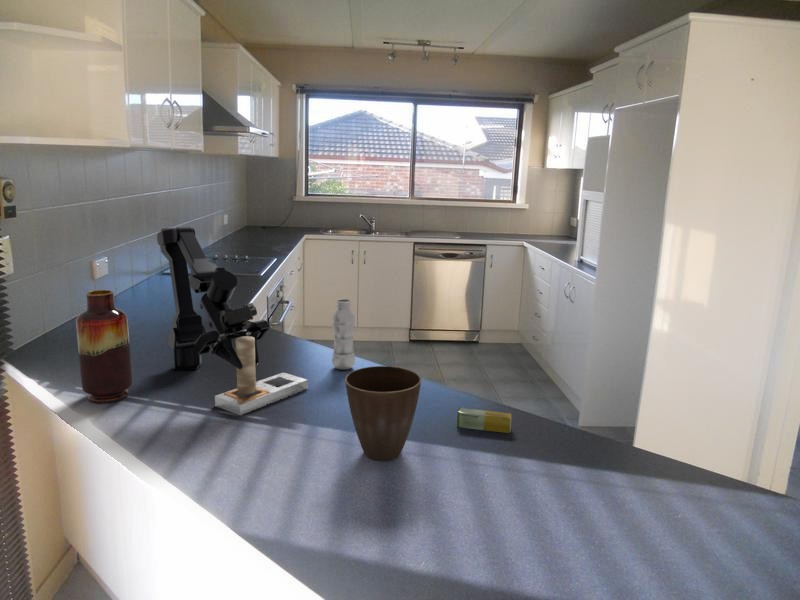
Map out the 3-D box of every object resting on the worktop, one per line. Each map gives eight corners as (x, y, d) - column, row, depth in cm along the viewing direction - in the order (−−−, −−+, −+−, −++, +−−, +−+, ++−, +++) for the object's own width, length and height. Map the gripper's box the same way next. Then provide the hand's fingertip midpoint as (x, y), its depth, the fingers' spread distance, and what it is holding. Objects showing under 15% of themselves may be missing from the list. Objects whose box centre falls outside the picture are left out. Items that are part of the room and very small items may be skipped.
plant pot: (392, 479, 111) (394, 397, 108) (329, 457, 119) (329, 381, 115) (432, 448, 123) (434, 375, 120) (372, 431, 131) (373, 361, 128)
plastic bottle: (359, 366, 173) (359, 299, 169) (347, 373, 167) (347, 303, 163) (339, 363, 176) (339, 297, 172) (327, 370, 170) (327, 301, 166)
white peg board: (240, 415, 138) (239, 404, 137) (215, 405, 143) (214, 395, 142) (307, 388, 155) (307, 379, 155) (283, 381, 160) (283, 371, 160)
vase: (83, 408, 140) (72, 298, 134) (83, 392, 149) (73, 289, 144) (134, 400, 145) (126, 295, 139) (131, 386, 154) (123, 286, 149)
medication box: (455, 428, 134) (456, 411, 133) (457, 423, 137) (458, 406, 136) (510, 434, 132) (511, 417, 131) (510, 429, 134) (511, 412, 133)
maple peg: (236, 394, 142) (234, 341, 139) (238, 387, 146) (236, 336, 143) (255, 393, 142) (253, 341, 140) (257, 387, 147) (255, 336, 144)
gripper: (198, 299, 135) (229, 356, 130) (265, 288, 149) (295, 339, 144) (180, 326, 141) (210, 382, 137) (246, 313, 155) (274, 363, 151)
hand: (249, 365), depth 142 cm, fingers closed on maple peg, 4 cm apart
